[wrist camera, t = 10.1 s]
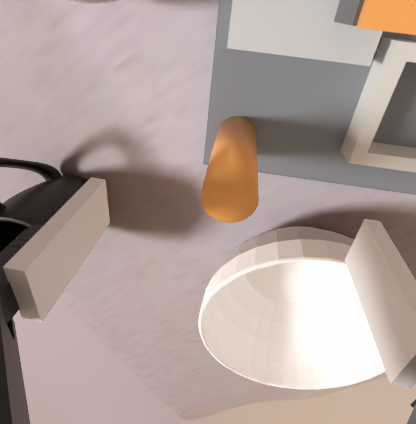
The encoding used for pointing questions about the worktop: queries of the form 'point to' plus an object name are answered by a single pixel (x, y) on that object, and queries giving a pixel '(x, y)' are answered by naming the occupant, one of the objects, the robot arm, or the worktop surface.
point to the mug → (35, 199)
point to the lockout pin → (232, 172)
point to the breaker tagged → (379, 15)
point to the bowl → (289, 312)
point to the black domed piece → (94, 1)
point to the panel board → (317, 93)
